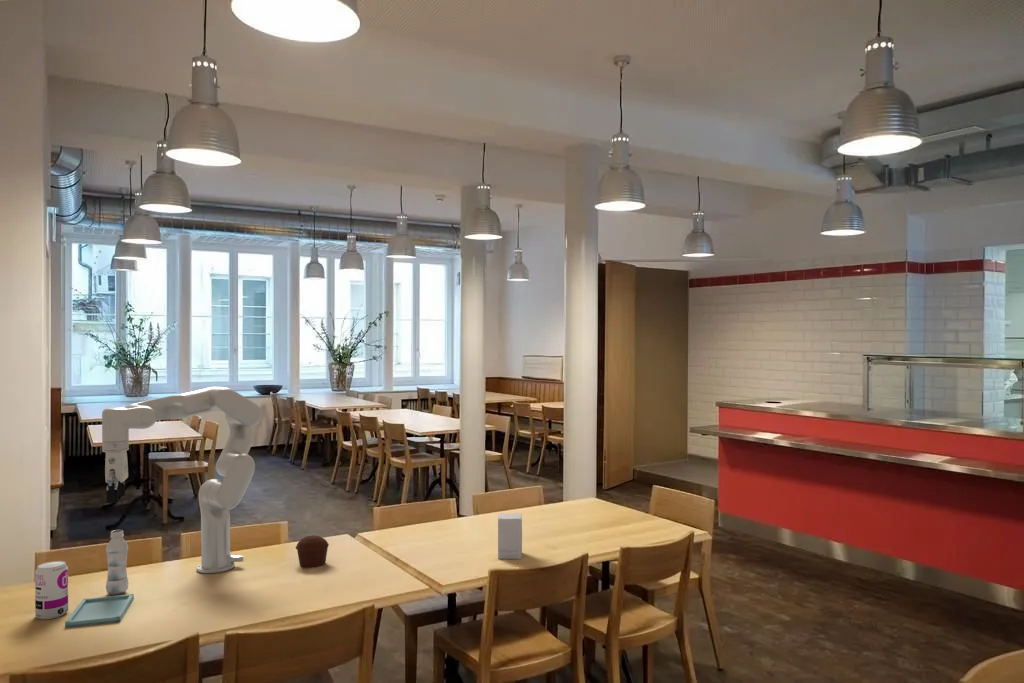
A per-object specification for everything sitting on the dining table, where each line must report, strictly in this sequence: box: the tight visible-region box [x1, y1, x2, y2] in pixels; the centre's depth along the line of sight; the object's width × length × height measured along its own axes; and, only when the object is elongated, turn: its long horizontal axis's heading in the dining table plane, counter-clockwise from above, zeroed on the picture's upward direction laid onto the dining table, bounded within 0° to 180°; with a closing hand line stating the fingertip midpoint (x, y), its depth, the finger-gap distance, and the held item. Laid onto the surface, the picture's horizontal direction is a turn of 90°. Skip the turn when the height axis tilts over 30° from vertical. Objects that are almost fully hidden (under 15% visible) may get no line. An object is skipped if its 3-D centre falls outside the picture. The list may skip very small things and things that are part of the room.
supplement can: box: [34, 560, 69, 620], centre depth 216 cm, size 8×8×15 cm
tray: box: [64, 593, 135, 629], centre depth 218 cm, size 14×20×2 cm
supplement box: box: [497, 512, 523, 560], centre depth 273 cm, size 9×9×15 cm
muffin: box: [295, 535, 330, 569], centre depth 264 cm, size 12×11×10 cm
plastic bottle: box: [105, 529, 129, 596], centre depth 235 cm, size 6×7×20 cm
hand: (116, 499), depth 235 cm, fingers open, 9 cm apart
